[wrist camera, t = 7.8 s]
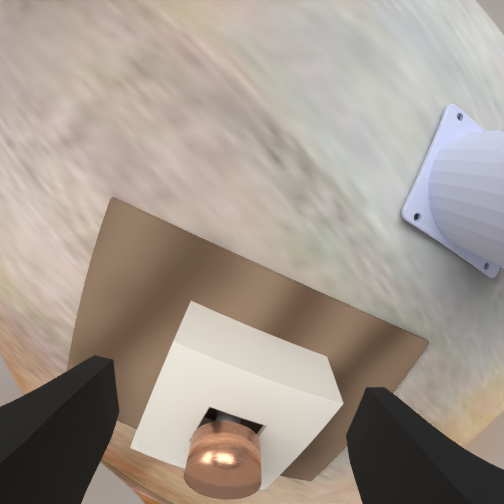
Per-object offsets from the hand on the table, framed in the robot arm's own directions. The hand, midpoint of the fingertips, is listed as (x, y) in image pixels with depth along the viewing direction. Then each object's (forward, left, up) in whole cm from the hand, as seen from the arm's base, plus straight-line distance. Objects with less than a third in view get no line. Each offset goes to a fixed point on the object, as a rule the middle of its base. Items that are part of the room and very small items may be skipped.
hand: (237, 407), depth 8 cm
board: (-2, +7, -10) cm, 13 cm away
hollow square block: (-2, +7, -10) cm, 13 cm away
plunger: (-2, +7, -9) cm, 12 cm away
